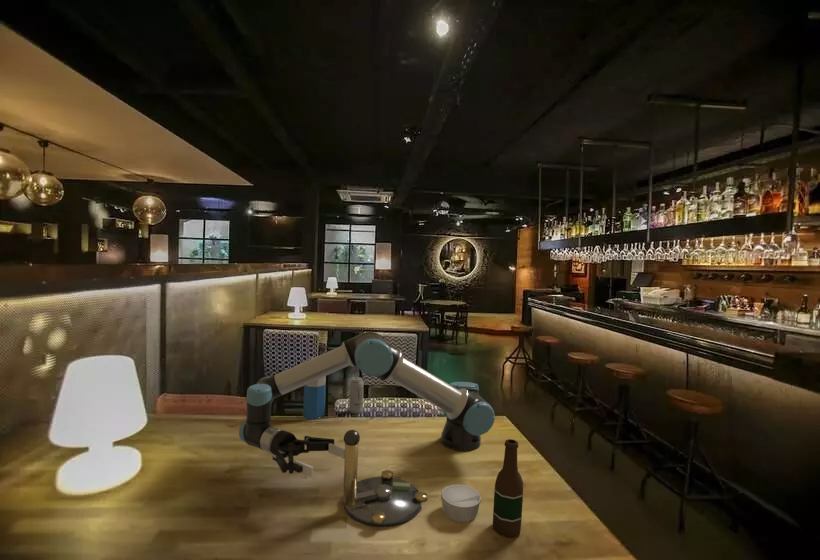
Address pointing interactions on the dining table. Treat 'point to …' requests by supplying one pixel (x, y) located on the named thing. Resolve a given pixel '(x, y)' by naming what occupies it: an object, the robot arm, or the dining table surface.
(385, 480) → the plate
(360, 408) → the energy drink can
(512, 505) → the beer bottle
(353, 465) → the ball topped crank handle
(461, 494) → the ramekin
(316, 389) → the water bottle
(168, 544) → the dining table surface
